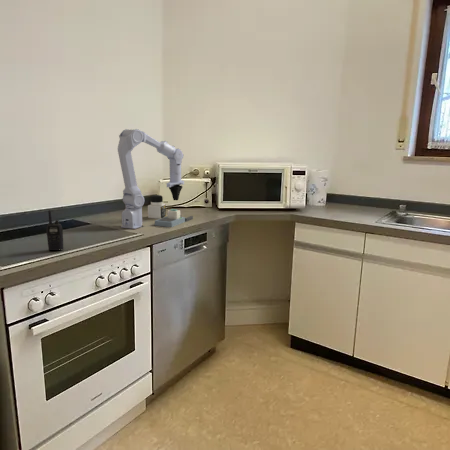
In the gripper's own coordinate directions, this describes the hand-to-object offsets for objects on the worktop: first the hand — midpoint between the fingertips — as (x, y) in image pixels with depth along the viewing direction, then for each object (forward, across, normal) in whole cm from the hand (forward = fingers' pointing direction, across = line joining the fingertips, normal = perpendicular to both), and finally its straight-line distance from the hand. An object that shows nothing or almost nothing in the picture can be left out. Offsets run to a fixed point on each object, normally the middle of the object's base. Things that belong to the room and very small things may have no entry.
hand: (175, 200), depth 199 cm
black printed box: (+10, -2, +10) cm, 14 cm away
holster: (+10, -2, -5) cm, 11 cm away
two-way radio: (+10, -67, +13) cm, 69 cm away
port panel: (+10, -13, -4) cm, 17 cm away
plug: (+9, -10, -4) cm, 14 cm away
